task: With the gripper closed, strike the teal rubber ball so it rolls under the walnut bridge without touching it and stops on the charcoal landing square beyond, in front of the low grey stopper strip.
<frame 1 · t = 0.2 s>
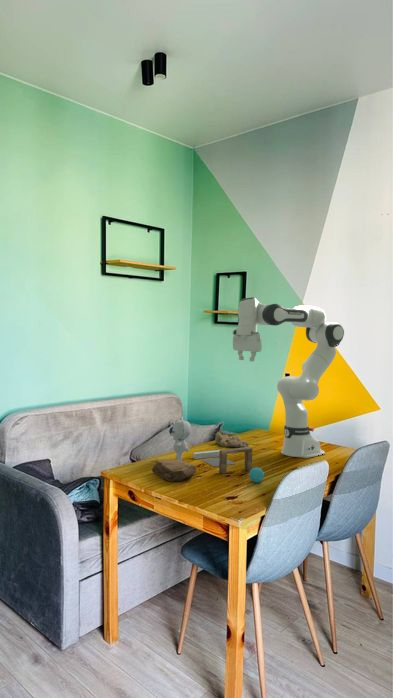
hand: (246, 360, 224), 48 cm above the table, tool pointing down, fingers open, 8 cm apart
toy: (179, 461, 222), on the table
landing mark: (218, 462, 221), on the table
figurine: (232, 446, 253), on the table
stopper: (208, 456, 230), on the table
rock: (173, 477, 198), on the table
bridge: (235, 471, 207), on the table
ball: (256, 474, 192), on the table
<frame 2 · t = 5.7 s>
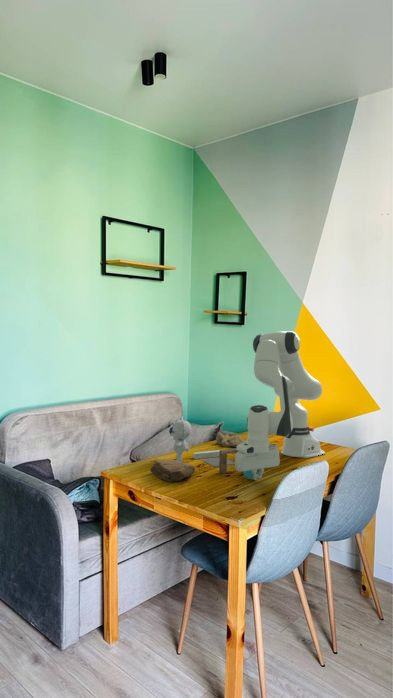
hand: (257, 479, 193), 1 cm above the table, tool pointing down, fingers closed
ball: (250, 471, 196), on the table
everything else where it was.
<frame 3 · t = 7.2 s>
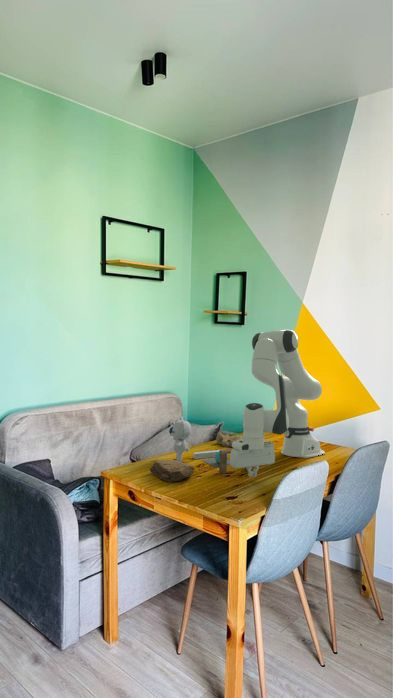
hand: (252, 476, 195), 2 cm above the table, tool pointing down, fingers closed
ball: (221, 457, 218), on the table
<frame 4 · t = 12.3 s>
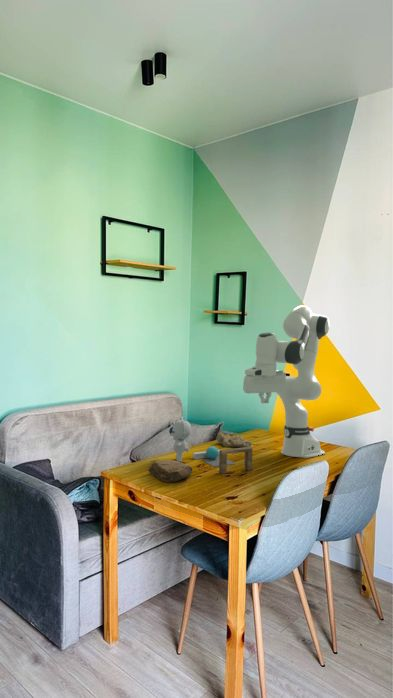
hand: (264, 403, 201), 31 cm above the table, tool pointing down, fingers closed
ball: (212, 452, 226), on the table
at the end: ball 5.8 cm from the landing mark (horizontally); ball never touched bridge; ball at rest at the end (0.0 cm/s) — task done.
